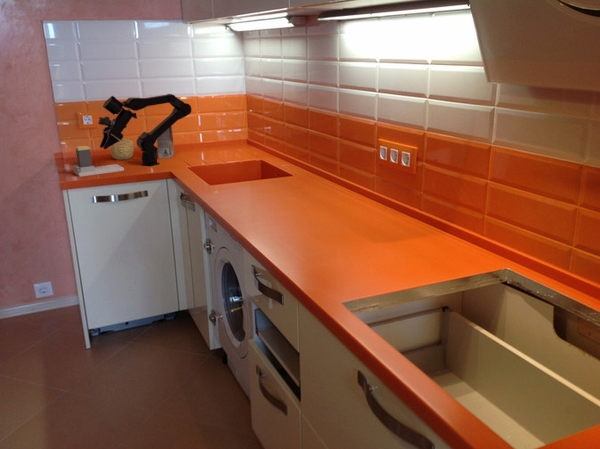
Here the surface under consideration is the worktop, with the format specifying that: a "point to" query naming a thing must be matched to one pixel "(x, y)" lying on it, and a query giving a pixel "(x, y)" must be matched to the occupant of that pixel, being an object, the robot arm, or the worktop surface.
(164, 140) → the coffee box
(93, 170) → the notch board
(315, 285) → the worktop surface
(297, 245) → the worktop surface
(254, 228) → the worktop surface
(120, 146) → the sculpture
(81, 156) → the grey tall block
